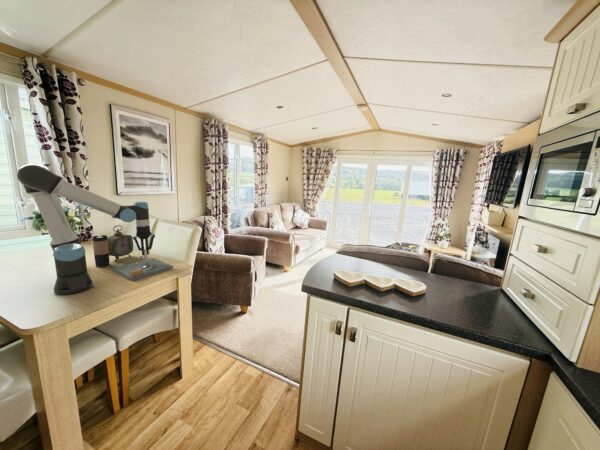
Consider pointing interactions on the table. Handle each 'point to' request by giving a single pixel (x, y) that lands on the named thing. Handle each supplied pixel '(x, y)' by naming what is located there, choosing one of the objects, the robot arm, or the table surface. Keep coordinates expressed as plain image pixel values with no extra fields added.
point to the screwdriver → (138, 271)
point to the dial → (145, 262)
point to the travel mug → (101, 251)
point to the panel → (157, 268)
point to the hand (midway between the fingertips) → (145, 259)
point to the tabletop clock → (120, 244)
